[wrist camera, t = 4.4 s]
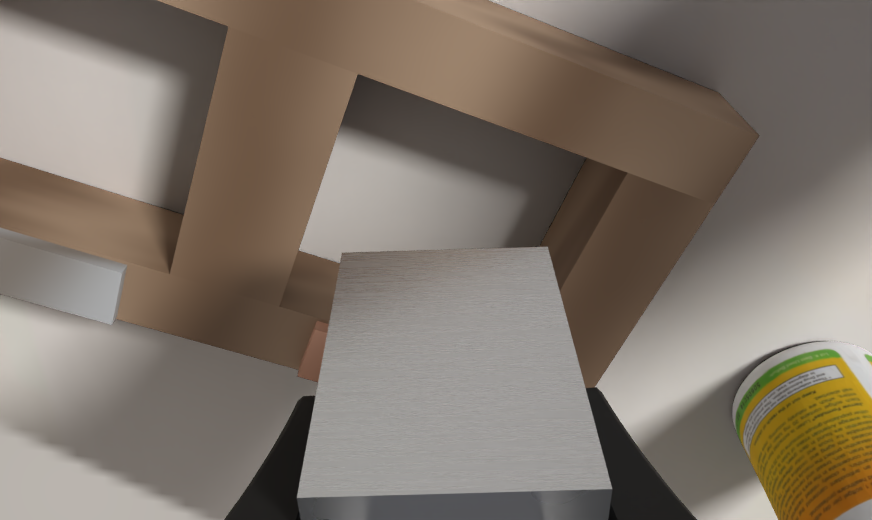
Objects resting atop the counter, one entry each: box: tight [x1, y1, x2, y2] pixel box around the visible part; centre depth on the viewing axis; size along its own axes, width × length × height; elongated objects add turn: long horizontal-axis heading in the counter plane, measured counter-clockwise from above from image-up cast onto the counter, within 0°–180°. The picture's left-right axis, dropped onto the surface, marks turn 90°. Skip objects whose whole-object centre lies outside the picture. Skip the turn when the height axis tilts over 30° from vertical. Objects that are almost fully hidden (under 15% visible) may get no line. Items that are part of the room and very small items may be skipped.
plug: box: [297, 247, 612, 520], centre depth 13 cm, size 4×4×7 cm
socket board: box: [0, 0, 759, 388], centre depth 20 cm, size 22×11×3 cm, turn 69°
